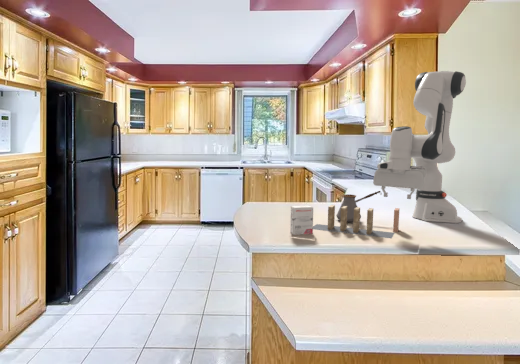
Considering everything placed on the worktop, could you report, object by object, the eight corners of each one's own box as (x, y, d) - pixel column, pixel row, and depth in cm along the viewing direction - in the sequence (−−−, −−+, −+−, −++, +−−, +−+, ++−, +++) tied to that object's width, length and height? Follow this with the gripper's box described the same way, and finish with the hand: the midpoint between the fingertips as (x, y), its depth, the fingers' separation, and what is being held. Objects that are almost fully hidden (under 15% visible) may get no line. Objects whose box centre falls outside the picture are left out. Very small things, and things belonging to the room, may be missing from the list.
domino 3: (359, 230, 166) (360, 207, 165) (356, 232, 162) (357, 209, 161) (355, 229, 167) (356, 207, 166) (353, 232, 163) (353, 209, 161)
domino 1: (334, 227, 171) (334, 205, 170) (331, 229, 167) (331, 206, 165) (330, 226, 172) (331, 204, 170) (327, 229, 167) (328, 206, 166)
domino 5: (398, 231, 168) (399, 208, 167) (397, 233, 164) (398, 210, 162) (394, 230, 169) (395, 208, 167) (393, 233, 164) (394, 210, 163)
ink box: (309, 232, 165) (310, 204, 163) (313, 235, 160) (314, 207, 158) (289, 233, 163) (290, 205, 162) (293, 236, 158) (293, 207, 157)
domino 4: (372, 231, 164) (373, 208, 163) (370, 234, 159) (371, 210, 158) (368, 231, 165) (369, 208, 163) (366, 233, 160) (367, 210, 159)
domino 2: (346, 228, 169) (347, 206, 167) (343, 231, 164) (344, 208, 163) (342, 228, 169) (343, 205, 168) (340, 230, 165) (340, 207, 164)
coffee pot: (340, 224, 179) (341, 192, 177) (333, 219, 190) (334, 189, 188) (384, 224, 180) (386, 192, 178) (375, 219, 192) (377, 189, 190)
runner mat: (394, 234, 162) (394, 232, 162) (391, 239, 154) (391, 238, 153) (316, 225, 177) (316, 224, 177) (309, 230, 168) (309, 228, 168)
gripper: (426, 166, 161) (424, 199, 162) (376, 163, 169) (374, 194, 171) (425, 167, 155) (423, 201, 157) (373, 164, 164) (371, 196, 165)
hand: (397, 197), depth 164 cm, fingers open, 8 cm apart
